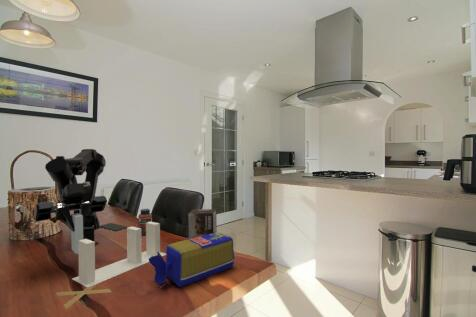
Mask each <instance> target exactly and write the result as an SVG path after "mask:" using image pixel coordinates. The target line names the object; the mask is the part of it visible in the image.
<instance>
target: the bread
mask: <svg viewBox="0 0 476 317" xmlns="http://www.w3.org/2000/svg"><path fill="white" fill-rule="evenodd" d="M165 251H166V252H165V254H166V255H165V256H166V259H164V256H161V255H160V254H159V252H157V253H158V255H156V256H152V257H150V258H149V262H148V263H150V265H151V266H152V267H154V271H155V274H154V283H155V284H157V285H159V286H161V285H162V284H164V283H166V281H167V278H168V279H170V281H172V282H173V283H175V284H176V285H177V286H178V287H179V288H181V287H184V286H188V285H189V284H192V283H195V282H197V281H201V280H204V279H206V278H208V277H211V276H213V275H215V274H218V273H222V272H223V271H227V270H229V269H231V268H233V266H234V262H235V252H234V240H233V238H232V237H230V236H228V235H226V234H223V233H220V232H217V233H212V234H208V235H204V236H199V237H195V238H191V239H189V238H188V239H184V240H180V241H176V242H174V243H173V242H172V243H170V244H168V245H166V249H165ZM156 288H158V287H157V286H156Z"/></svg>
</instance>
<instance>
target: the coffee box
mask: <svg viewBox="0 0 476 317" xmlns="http://www.w3.org/2000/svg"><path fill="white" fill-rule="evenodd" d="M187 216H188V239H191V238H195V237H199V236H204V235H208V234H212V233H218V229H217V226H218V225H217V224H218V222H217V220H218V219H217V209H216V208H213V209H212V208H204V209H203V208H200V209H198V208H197V209H195V208H193V209H192V210H191V211H190V212H188V215H187Z"/></svg>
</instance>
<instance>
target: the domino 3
mask: <svg viewBox="0 0 476 317" xmlns="http://www.w3.org/2000/svg"><path fill="white" fill-rule="evenodd" d="M127 227H128V228H127V229H126V254H127V256H126V258H127V261H130V262H132V263H135V264H138V263H140V262H142V252H143V250H142V242H143V241H142V235H141V228H138V227H136V226H127Z"/></svg>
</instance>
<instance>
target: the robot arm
mask: <svg viewBox="0 0 476 317" xmlns="http://www.w3.org/2000/svg"><path fill="white" fill-rule="evenodd" d="M106 162H107V161H106V158H105V156H104V155H103V154H101V153H99V152H98V151H97V150H96V149H94V148H88V149H87V148H84V149H81V151H80V152H79V153H77V154H76V155H75V156H74V157H71V158H70V157H69V158H66V157H65V156H63V155H56V156H55V158H53V159H51V160H49V161H48V162H47V163H46V164H45V166H44V168H45V170H46V172H47V173H48V175H49V177H51V179H52V181H53V182H55V183H56V187H57V191H58V196H59V202H60V203H56V205H54V202H53V201H47V202H44V201H43V202H38V203H36V204H35V208H34V209H35V210H34V220H35V222H42V221H48V220H49V219H51V218H52V214H54V215H55V219H54V220H55V221H60V222H61V223H63V224H64V225H65V226H66V227H67V228H68V229H69V230H70V231H73V232H74V231H75V229H74V223H73V221H72V218H71V212H72V211H73V214H76V213H79V214H81V215H82V216H83V239H88V240H91V241H94V242H95V245H98V244H99V241H96V240H95V231H96V230H99V229H101V228H100V220H99V217H98V215H97V213H99V212H103V211H104V210H105V208H106V206H107V202H108V200H107V197H106V196H105V195H100V196H96V192H97V187H98V186H97V185H98V180H99V177H100V175H101V174H102V173H103V172H104V169H105V167H106ZM85 173H86V175H85V178H84V179H85V180H84V181H83V183H82V182H81V183H79V182H78V179H77V177H76V176H82V175H83V174H85Z"/></svg>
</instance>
